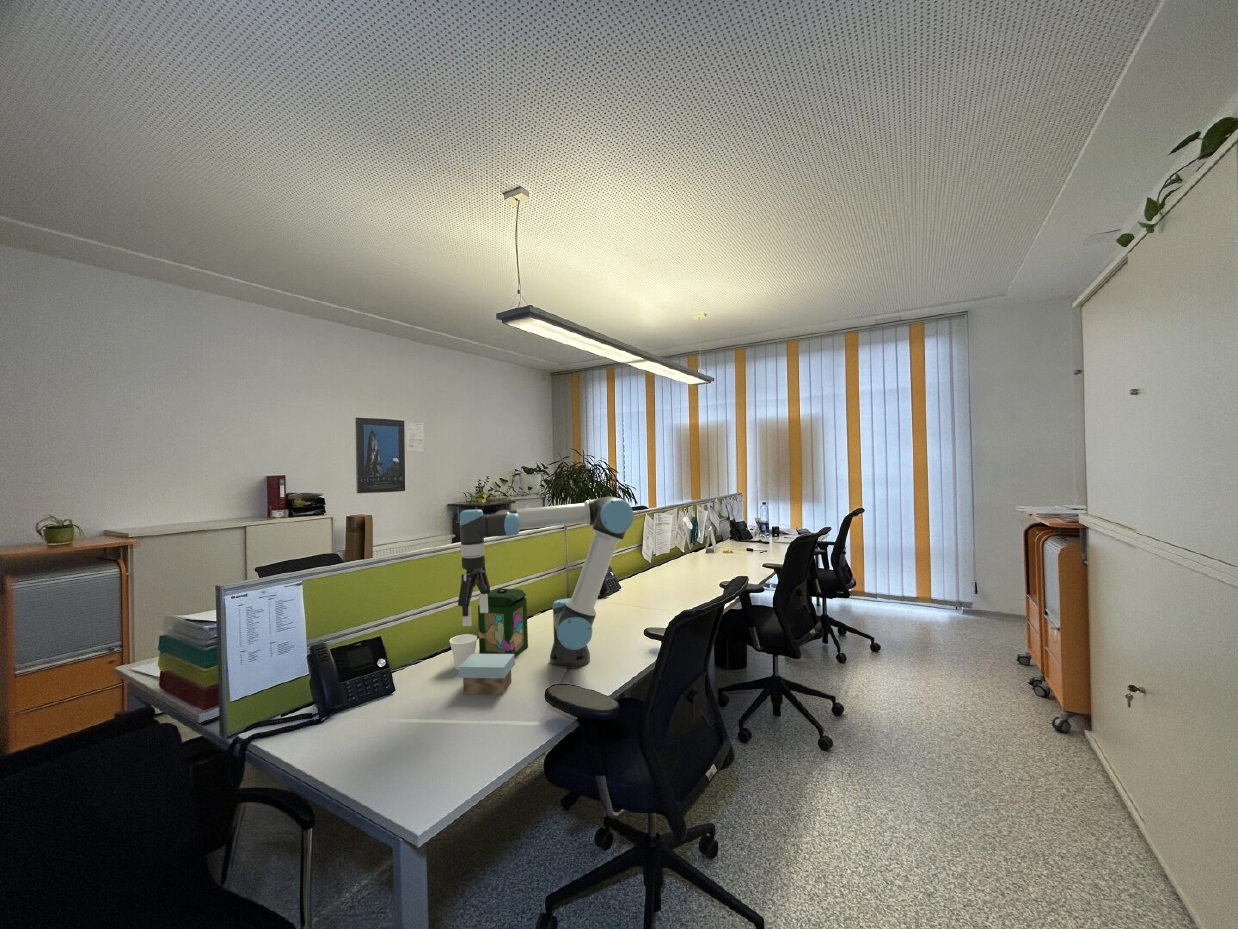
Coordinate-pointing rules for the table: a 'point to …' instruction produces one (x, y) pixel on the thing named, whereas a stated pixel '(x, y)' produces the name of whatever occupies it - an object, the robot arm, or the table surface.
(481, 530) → the robot arm
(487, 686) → the crate
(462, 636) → the cup
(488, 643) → the container
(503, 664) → the lid
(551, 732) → the table surface
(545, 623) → the table surface
